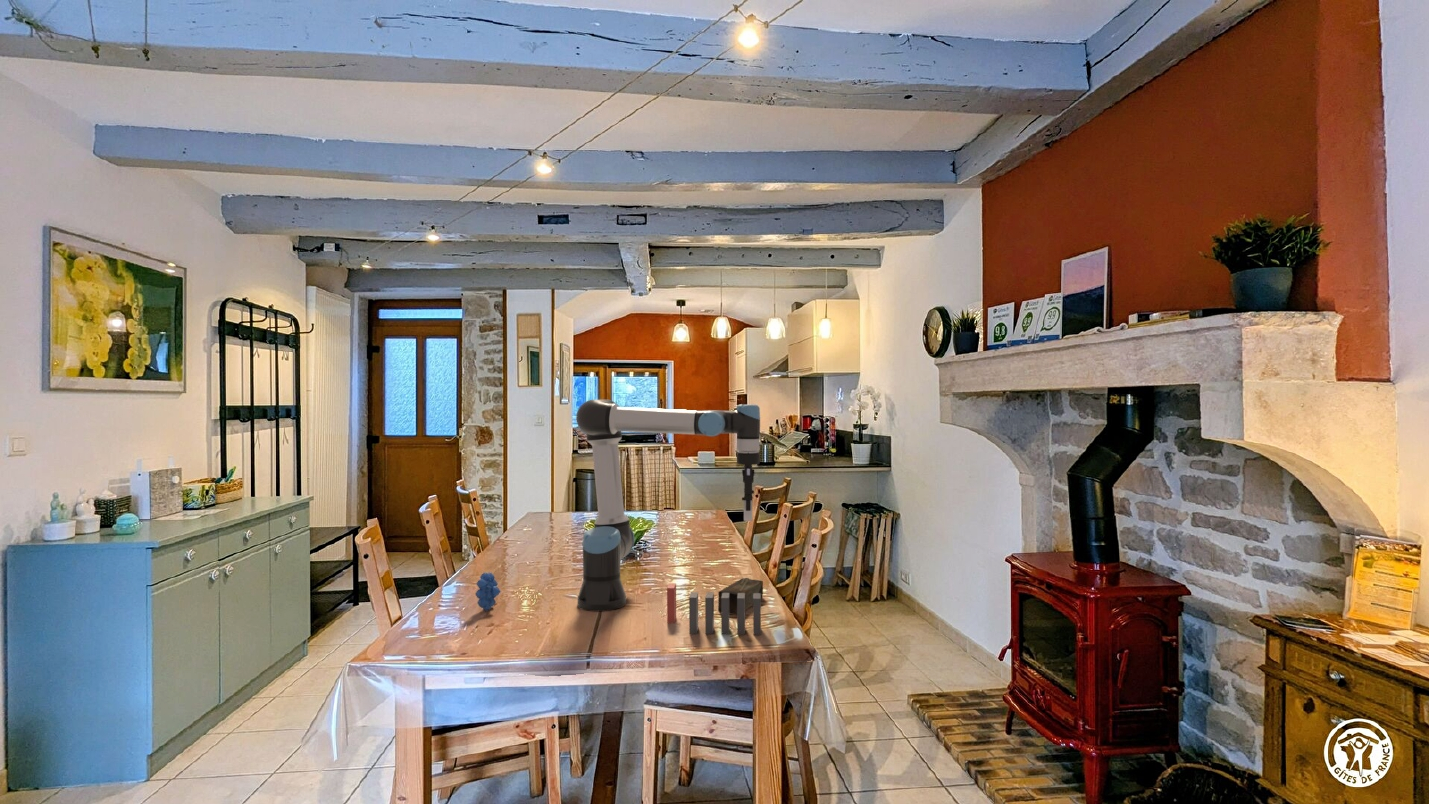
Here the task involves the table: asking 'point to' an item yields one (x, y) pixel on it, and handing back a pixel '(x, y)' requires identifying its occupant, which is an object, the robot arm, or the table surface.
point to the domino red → (671, 603)
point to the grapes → (487, 591)
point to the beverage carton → (741, 586)
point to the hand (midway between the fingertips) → (748, 517)
